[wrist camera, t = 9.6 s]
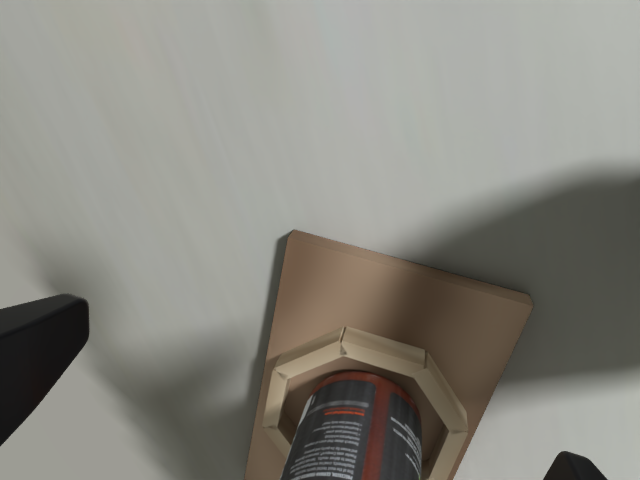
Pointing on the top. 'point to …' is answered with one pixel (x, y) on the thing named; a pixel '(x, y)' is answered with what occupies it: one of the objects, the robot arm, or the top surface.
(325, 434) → the supplement bottle
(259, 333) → the top surface
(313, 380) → the wooden board with rim
